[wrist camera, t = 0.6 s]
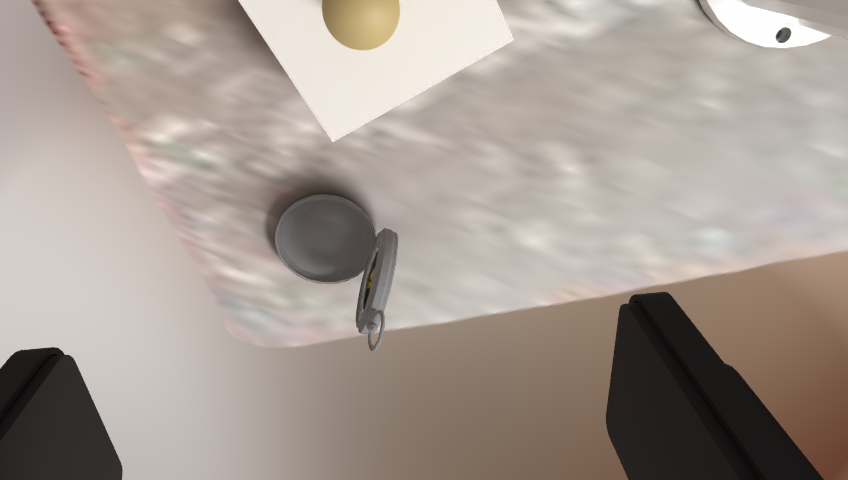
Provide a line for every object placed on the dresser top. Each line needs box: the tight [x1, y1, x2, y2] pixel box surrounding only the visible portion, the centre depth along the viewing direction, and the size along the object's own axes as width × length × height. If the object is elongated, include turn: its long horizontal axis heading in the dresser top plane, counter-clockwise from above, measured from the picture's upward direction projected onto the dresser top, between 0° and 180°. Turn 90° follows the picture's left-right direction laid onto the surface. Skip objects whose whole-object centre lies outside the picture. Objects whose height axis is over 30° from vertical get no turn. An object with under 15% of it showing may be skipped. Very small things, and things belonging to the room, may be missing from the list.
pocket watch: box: [275, 194, 398, 351], centre depth 35 cm, size 8×8×10 cm
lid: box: [238, 0, 514, 142], centre depth 25 cm, size 10×10×6 cm
